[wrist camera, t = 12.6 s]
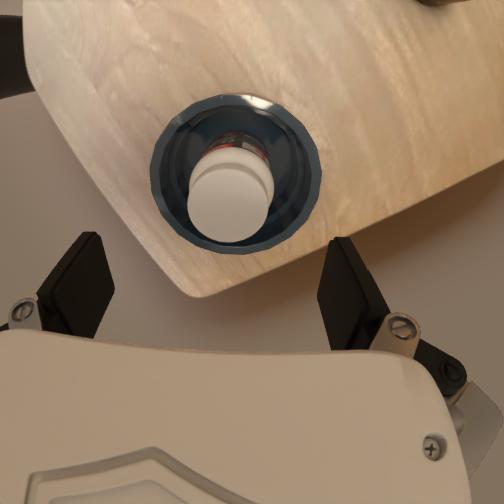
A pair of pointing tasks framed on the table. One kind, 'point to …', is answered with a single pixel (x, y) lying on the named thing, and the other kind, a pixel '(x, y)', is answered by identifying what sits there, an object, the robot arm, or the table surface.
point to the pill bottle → (231, 188)
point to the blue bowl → (280, 156)
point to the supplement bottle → (440, 2)
